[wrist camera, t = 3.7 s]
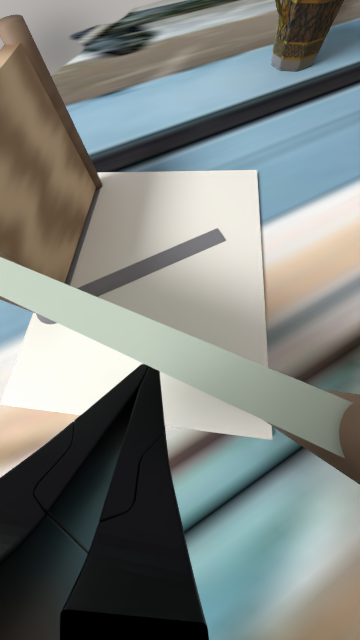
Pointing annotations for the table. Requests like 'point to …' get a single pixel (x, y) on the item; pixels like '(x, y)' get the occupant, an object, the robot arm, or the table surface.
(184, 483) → the table surface
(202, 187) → the card
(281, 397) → the folding panel
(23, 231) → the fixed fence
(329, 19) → the ceramic cup
